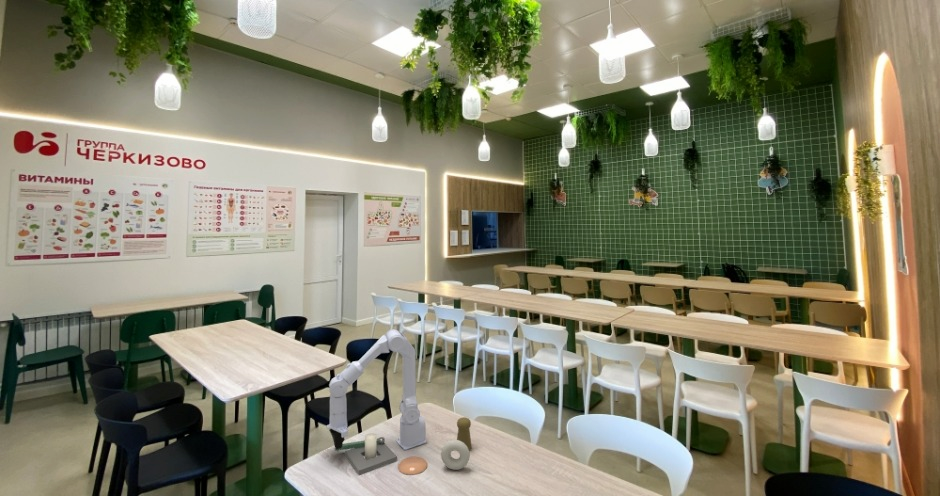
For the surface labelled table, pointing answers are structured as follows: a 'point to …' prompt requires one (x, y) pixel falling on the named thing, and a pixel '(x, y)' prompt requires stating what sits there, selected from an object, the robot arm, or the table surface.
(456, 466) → the donut
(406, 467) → the coaster
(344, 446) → the bar
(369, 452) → the plug
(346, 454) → the collar block
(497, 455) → the table surface
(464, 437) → the brown pawn
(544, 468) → the table surface
